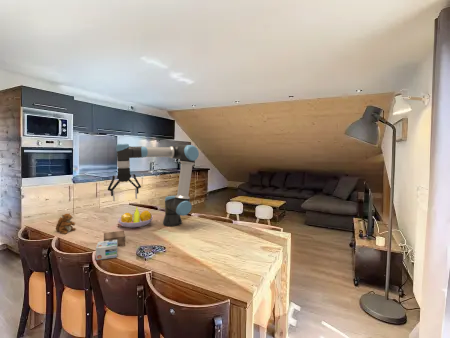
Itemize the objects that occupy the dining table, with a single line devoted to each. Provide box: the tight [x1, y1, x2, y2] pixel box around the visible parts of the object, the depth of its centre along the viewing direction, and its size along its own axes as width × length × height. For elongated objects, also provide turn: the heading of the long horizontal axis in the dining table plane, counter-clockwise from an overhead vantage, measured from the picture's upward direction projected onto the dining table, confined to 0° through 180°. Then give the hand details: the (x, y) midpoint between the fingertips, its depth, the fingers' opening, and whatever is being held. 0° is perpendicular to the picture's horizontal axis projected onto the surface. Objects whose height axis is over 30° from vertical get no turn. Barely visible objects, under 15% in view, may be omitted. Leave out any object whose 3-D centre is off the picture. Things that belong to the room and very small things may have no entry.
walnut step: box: [103, 230, 126, 248], centre depth 155 cm, size 12×12×6 cm
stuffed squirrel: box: [55, 213, 77, 235], centre depth 177 cm, size 10×14×13 cm
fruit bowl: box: [117, 206, 154, 229], centre depth 194 cm, size 28×27×11 cm
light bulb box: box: [95, 240, 119, 261], centre depth 138 cm, size 11×7×11 cm
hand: (125, 199), depth 159 cm, fingers open, 13 cm apart
